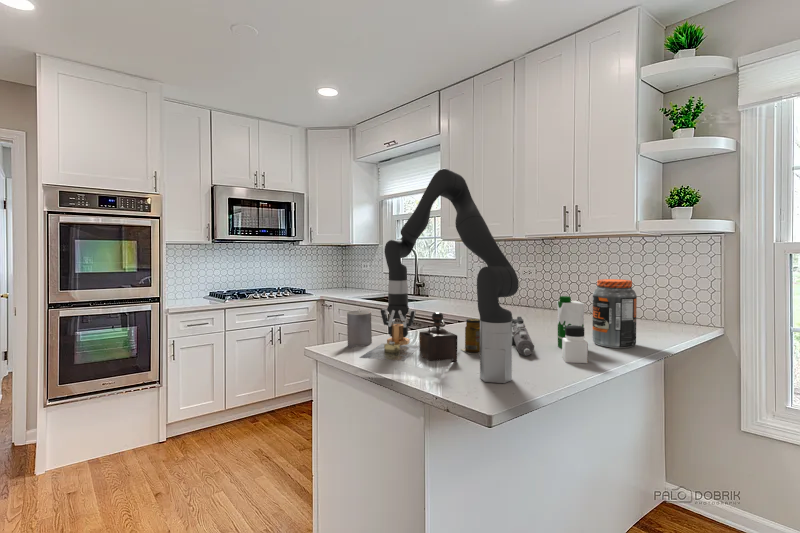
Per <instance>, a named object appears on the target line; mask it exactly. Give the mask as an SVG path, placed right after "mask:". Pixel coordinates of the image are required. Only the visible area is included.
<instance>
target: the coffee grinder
mask: <svg viewBox="0 0 800 533" xmlns="http://www.w3.org/2000/svg"><path fill="white" fill-rule="evenodd" d="M431 319H432V320H433V323H432V326H433V327H432V328H430V327H428V330H426V331H419V335H418V336H419V337H418V340H419V343H418V344H419V345H418V346H419V348H418V349H419V351H418V352H419V356H421V357H422V359H426V360H427V361H429V362H437V361H446V360H447V361H448V360H451V362H450V363H451V364H452V363H457V362H458V335H457V334H456V333H453V332H450V331H448V330H446V329H445V328H444V327H445V326H446V322H445V321H444V313H442V312H440V311H434V313H432V315H431Z"/></svg>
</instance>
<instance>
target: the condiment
mask: <svg viewBox="0 0 800 533" xmlns="http://www.w3.org/2000/svg"><path fill="white" fill-rule="evenodd" d="M465 322H466V324H465V327H464V348H461V349H460V350H461V351H462V352H465V353H466V354H468V355H480V318H479V319H478V318H468V319H466V320H465Z"/></svg>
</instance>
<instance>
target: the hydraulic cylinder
mask: <svg viewBox="0 0 800 533" xmlns="http://www.w3.org/2000/svg"><path fill="white" fill-rule="evenodd" d="M512 346H516V349H517V351H518V353H519V354H520V355H522V356H529V355H532V354H533V353H534V350H535V345H534V343H533V341H532V339H531V337H530V334H529V332H528V330H527V328H526V325H525V323H524V319H523V318H522V316H517V318H514V317H513V316H512Z"/></svg>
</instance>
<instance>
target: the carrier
mask: <svg viewBox="0 0 800 533" xmlns="http://www.w3.org/2000/svg"><path fill="white" fill-rule="evenodd" d="M418 349H419V345H417V344H416V345H415V344H407V345H400V344H398V343H395V342H394V341H390V342H389V343H387V342H386V343H383V342H382V343H381V344H379V345H377V346H376V347H374V348H373V349H371V350H369V351H367V352H366V353H364V354H363V355H361V356H360V357H359V359H370V360H373V359H375V360H382V361H383V360H385V361H398V362H399V361H400V362H404V361H405V360H406V359H408V358H409V357H410V356H411V355H412V354H413V353H415V352H416V351H417V350H418Z"/></svg>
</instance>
